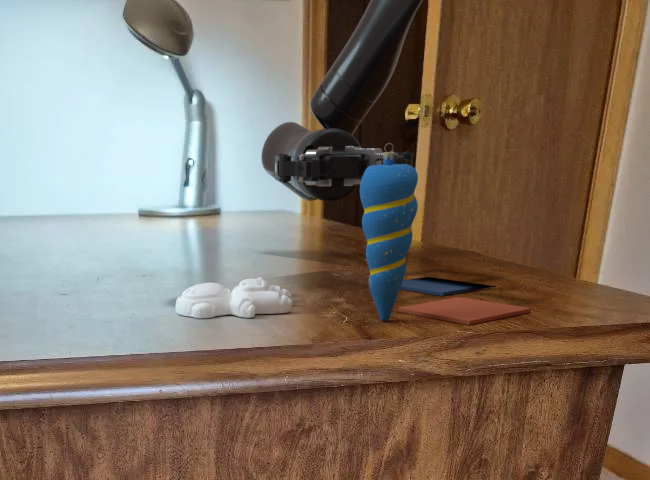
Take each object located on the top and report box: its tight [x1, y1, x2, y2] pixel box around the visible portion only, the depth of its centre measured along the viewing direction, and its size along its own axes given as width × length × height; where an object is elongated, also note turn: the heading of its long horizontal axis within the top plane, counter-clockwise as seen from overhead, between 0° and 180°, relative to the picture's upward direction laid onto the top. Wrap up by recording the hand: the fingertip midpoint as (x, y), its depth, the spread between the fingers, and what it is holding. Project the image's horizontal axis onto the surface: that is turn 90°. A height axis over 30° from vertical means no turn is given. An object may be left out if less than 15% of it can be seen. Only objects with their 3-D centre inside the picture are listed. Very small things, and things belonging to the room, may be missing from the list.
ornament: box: [359, 142, 419, 322], centre depth 71 cm, size 5×5×15 cm
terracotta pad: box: [397, 296, 532, 326], centre depth 77 cm, size 9×9×1 cm
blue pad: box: [400, 276, 497, 297], centre depth 91 cm, size 9×9×1 cm
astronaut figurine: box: [175, 276, 294, 319], centre depth 80 cm, size 9×12×3 cm
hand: (358, 168), depth 78 cm, fingers open, 8 cm apart
